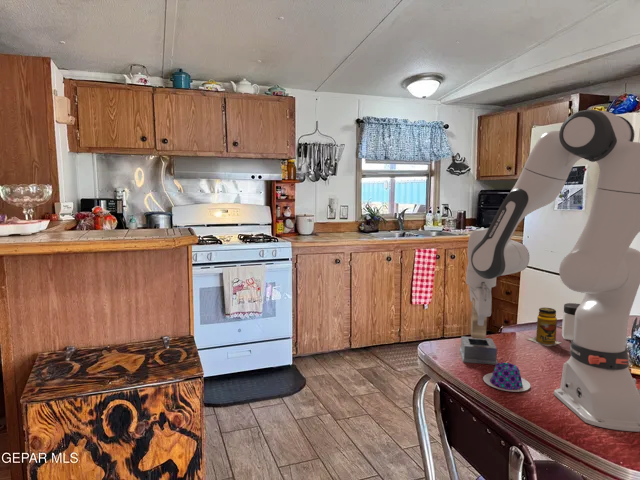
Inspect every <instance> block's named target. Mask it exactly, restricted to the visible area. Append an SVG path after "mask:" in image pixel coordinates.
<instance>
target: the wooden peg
mask: <svg viewBox="0 0 640 480" xmlns="http://www.w3.org/2000/svg"><path fill="white" fill-rule="evenodd" d="M484 301H485V300H484ZM477 319H478V314H477V312H476V310H475V300H474V298H472V302H471V319H470V321H471V323H470V337H472V338H476V339H486V338H487V322H488V316H485V319H484V325H483V326H479V325H478V324H477Z"/></svg>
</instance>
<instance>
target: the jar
mask: <svg viewBox="0 0 640 480" xmlns="http://www.w3.org/2000/svg"><path fill="white" fill-rule="evenodd" d="M580 304H581V303H574V302H573V303H571V302H569V303H564V304H563V311H562V324H561V326H562V327H561V336H562V338H563V339H564V340H567V341H570V342H571V341H572V340H573V337H574V321H575V312H576V310H577V308H578V306H579V305H580Z"/></svg>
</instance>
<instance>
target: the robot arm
mask: <svg viewBox="0 0 640 480" xmlns="http://www.w3.org/2000/svg"><path fill="white" fill-rule="evenodd" d="M634 140H635V130H634V126H633V125H632V123H631V122H630V121H629V120H628V119H626V118H625V117H623V116H621V115H616V114H615V113H613V112H610V111H607V110H605V111H604V110H598V109H585V110H580V111H577V112H575V113H572V114H571V115H570V116H568V117H567V118H566V119H565V120H564V121H563V123H562V125H561V126H560V129H559V130H551V131H547V132H545V133H543V134H542V135H540V137H539V139H538V140H537V141H536V143H535V144H534V145H533V148H532V149H531V152H529V155H528V157H527V159H526V161H525V163H524V166H523V168H522V170H521V173H520V175H519V177H518V178H517V181H516V182H515V184H514V185H513V187H512V189H511V190H510V192H508V194H507V196H505V198H504V199H503V201H502V203H501V205H500V207H499V208H498V209H497V212H496V214H495V215H494V218H492V219H493V220H492V221H491V224H490V225H489V227H486V228H483V227H482V228H476V229H474V230H471V232H470V234H469V237H468V240H467V241H468V242H467V251H466V252H467V254H466V256H467V259H468V260H467V261H468V263H467V267H466V274H465V275H466V277H465V284H466V285H468V292H469V294H468V295H469V301H470V302H471V303H472V298H474V300H475V310H476V312H477V314H478V319H477V324H478V325H479V326H483V325H484V319H485V316H487V317H491V315H492V306H493V305H492V304H493V303H492V301H493V300H492V299H493V297H492V288H495V287H497V278H498V277H500V276H506V275H513V274H517V273H519V272H522V271H524V270H525V269H526V268H528V265H529V263H530V251H529V249H528V248H527V247H526V245H525V244H523V243H522V242H519V241H516V240H513V239H511V238H512V237H513V235H514V233H515V231H516V230H517V228H518V226H519V224H520V223H521V222H522V220H523V219H525V217H527V216H528V215H530V214H531V213H532V212H535V211H537V210H539V209H540V208H541V209H542V208H544V207H545V206H547V205H550V204H552V203H553V202H554V201H555V200H556V199H557V198H558V196H559V195H560V193H561V192H562V190H563V188H564V186H565V185H566V182H567V180H568V178H569V175H570V174H571V172H572V169H573V167H574V165H575V164H576V163H578V162H579V161H580V160H581V159H582V160H583V159H584V160H587V161H589V162H591V163H594V162H596V163H597V165H598V167H599V174H598V178H597V182H596V187H595V191H594V196H593V200H592V204H591V208H590V211H589V216H588V219H587V221H586V224H585V226H584V228H583V230H582V232H581V234H580V236H579V238H578V239H577V241H576V242H575V244H574V246H573V248H572V249H571V250H570V252H569V253H568V254H567V255H566V256H564V258H562V260H561V262H560V264H559V270H558V272H559V277H560V280H561V281H562V283H563V284H564V285H565V287H567V288H568V289H570V290H572V291H573V292H577V293H581V294H583V293H584V296H583V299H582V301H581V302H580V303H579V304H580V305H579V306H578V308H577V310H576V312H575V321H574V337H573V340H572V341H571V340H570V346H569V349H570V350H569V351H570V352H569V354H570V357H569V358H568V360H566V361H565V362H564V363H563V364H562V371H561V373H562V374H561V380H560V387H559V388H556V389H554V390H553V395H554V396H555V397H556V398H557V399H558V400H559V401H561V402H562V403H563V404H564V405H565V406H566V407H567V408H569V409H570V410H571V411H572V412H573V413H574V414H575V415H576V416H578V418H580V419H581V420H582V421H583V422H584V423H586V424H589V425H592V426H595V427H600V428H604V429H609V430H614V431H615V430H616V431H626V432H638V433H640V388H639V389H638V388H637V385H636V384H637V379H636V378H634V377H632V373H631V372H630V370H629V366H630V364H629V363H630V362H629V354H628V349H627V348H626V346H627V337H628V336H627V335H628V324H629V320H630V315H631V311H632V307H633V305H634V302H635V299H636V296H637V294H638V290H639V289H640V250H638V249H636V248H633V247H631V244H632V243H633V241H634V240H635V238H636V237H637V235H638V234H639V233H640V142H637V141H634ZM484 300H485V301H484Z"/></svg>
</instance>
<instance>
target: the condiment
mask: <svg viewBox="0 0 640 480" xmlns="http://www.w3.org/2000/svg"><path fill="white" fill-rule="evenodd" d="M538 311H539V312H538V315H537V320H536V336H534V337H531V338H530V337H529V338H526V340H528V341H532V342H534V343H537V344H539V345H542V346H545V347H552V346H556V345H559V344H561V342H560V341H556V339H557V325H558V318H557V311H556V309H555V308H552V307H539V309H538Z"/></svg>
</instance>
